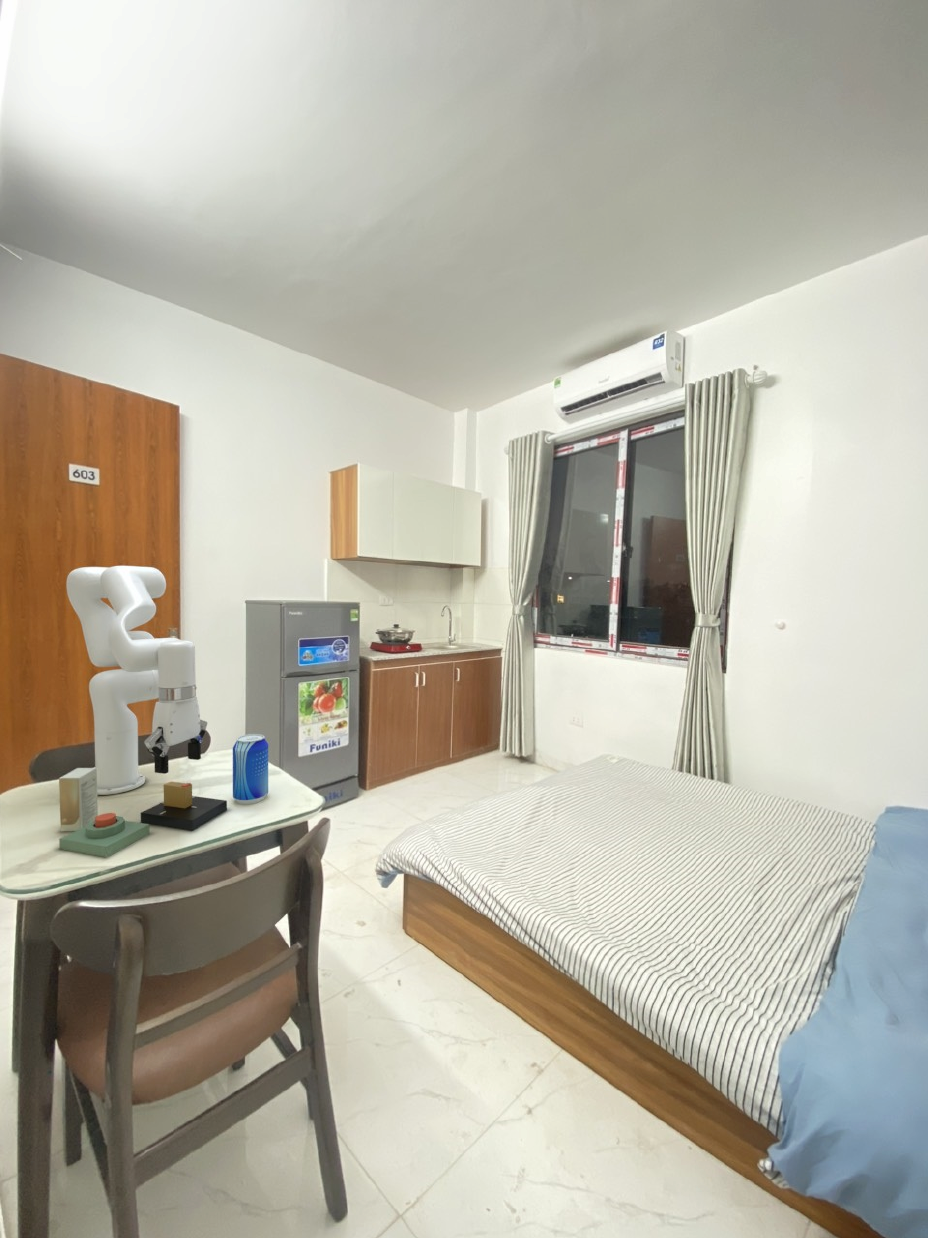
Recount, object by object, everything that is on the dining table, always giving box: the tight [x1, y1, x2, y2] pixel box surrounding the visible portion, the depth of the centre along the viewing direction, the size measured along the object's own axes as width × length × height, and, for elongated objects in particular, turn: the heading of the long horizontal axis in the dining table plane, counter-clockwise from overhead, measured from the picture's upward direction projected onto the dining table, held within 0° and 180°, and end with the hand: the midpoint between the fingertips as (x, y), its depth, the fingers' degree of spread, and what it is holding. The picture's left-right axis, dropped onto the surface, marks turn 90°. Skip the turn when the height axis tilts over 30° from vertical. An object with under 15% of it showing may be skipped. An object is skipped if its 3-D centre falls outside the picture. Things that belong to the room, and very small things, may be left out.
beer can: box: [232, 733, 269, 805], centre depth 127 cm, size 8×8×16 cm
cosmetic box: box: [58, 767, 99, 832], centre depth 111 cm, size 6×4×12 cm
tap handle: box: [163, 781, 193, 808], centre depth 117 cm, size 6×2×5 cm, turn 77°
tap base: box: [140, 795, 228, 832], centre depth 117 cm, size 14×11×3 cm
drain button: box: [95, 812, 117, 828], centre depth 104 cm, size 4×4×2 cm
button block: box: [58, 815, 150, 858], centre depth 104 cm, size 12×10×4 cm
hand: (178, 765), depth 116 cm, fingers open, 9 cm apart
